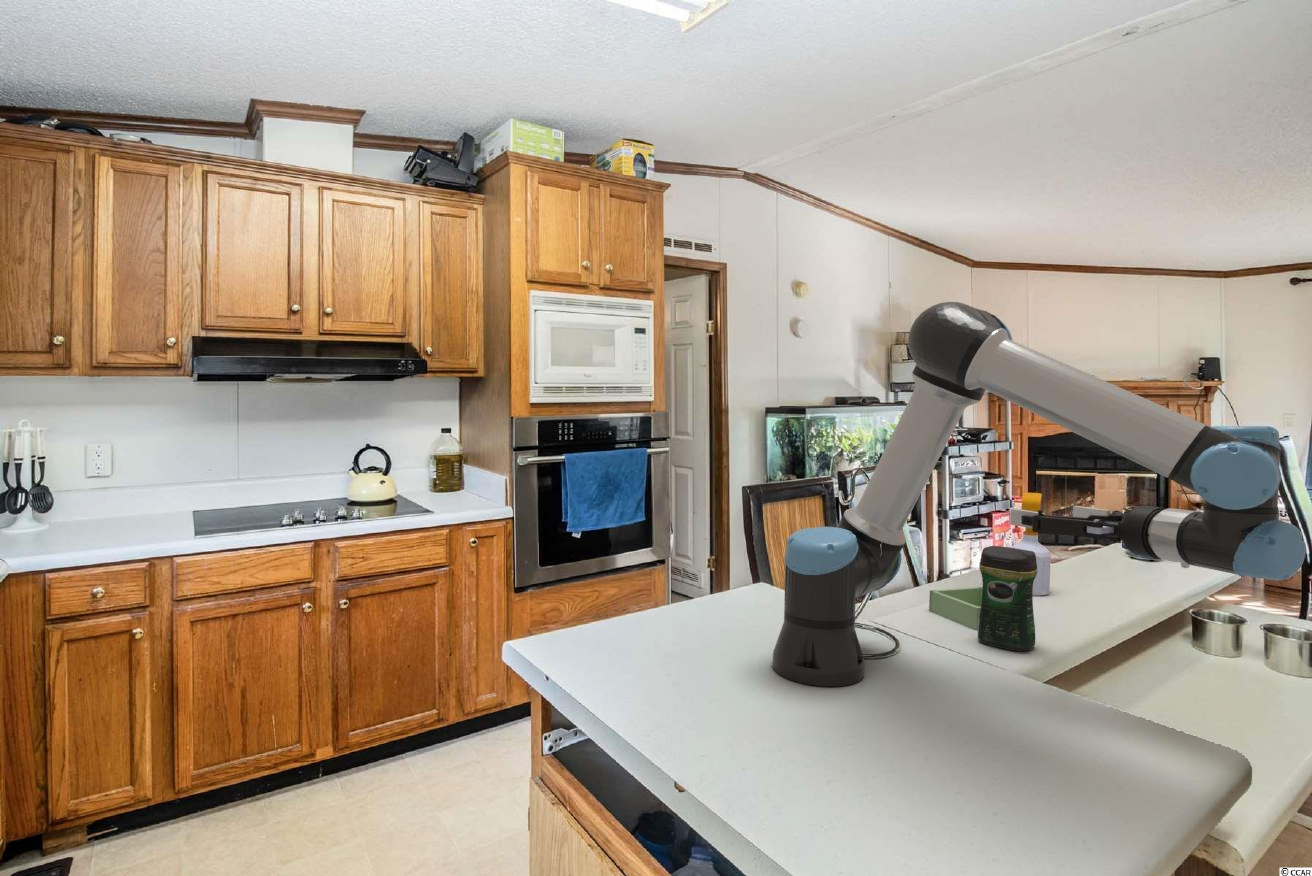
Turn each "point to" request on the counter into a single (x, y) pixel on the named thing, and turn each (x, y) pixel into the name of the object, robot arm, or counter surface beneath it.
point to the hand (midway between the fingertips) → (1043, 514)
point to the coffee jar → (1007, 598)
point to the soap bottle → (1036, 547)
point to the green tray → (958, 604)
